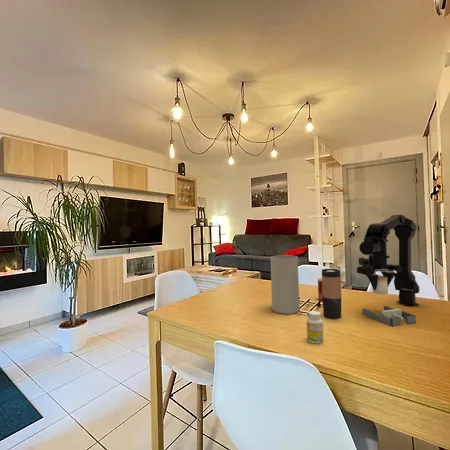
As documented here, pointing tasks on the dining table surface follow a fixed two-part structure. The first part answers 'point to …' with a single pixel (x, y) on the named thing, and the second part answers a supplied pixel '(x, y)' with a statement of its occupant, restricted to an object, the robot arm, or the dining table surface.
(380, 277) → the jar
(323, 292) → the travel mug
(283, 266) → the cylinder vase
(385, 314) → the pusher
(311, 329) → the supplement bottle
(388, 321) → the grey u-shaped frame
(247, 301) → the dining table surface
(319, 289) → the canned food
